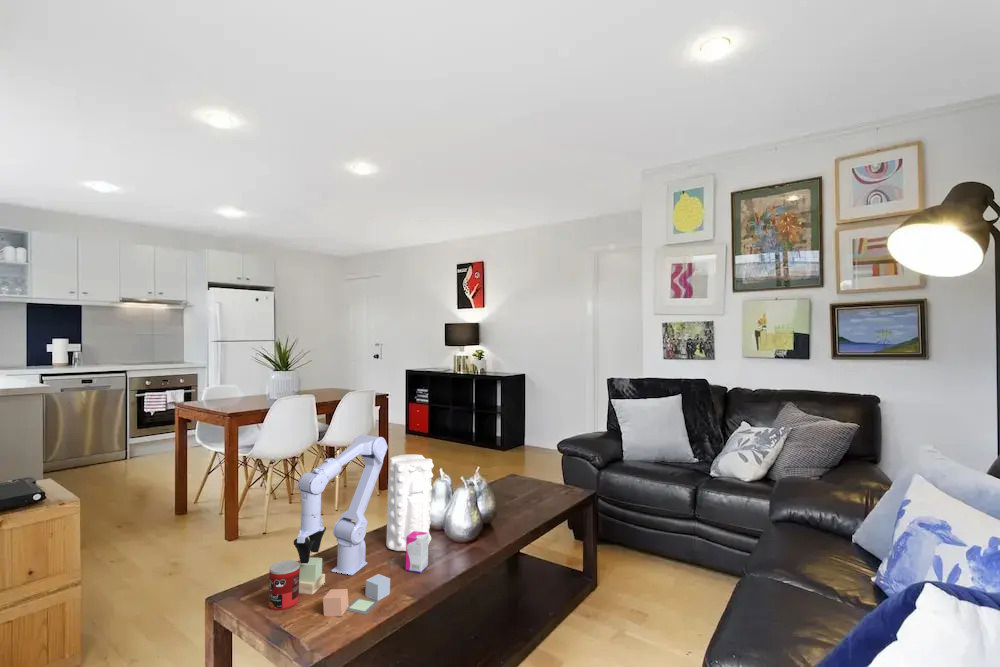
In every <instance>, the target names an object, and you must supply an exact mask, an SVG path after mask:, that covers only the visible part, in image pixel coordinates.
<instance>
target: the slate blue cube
mask: <svg viewBox="0 0 1000 667" xmlns="http://www.w3.org/2000/svg"><path fill="white" fill-rule="evenodd" d="M364 594H365V597H366V598H370V600H373V601H378V602H380V601H381V600H382V599H384V598H387V596H389V595H390V594H391V578H390V577H388V576H385V575H382V574H380V573H377V574H375V575H373V576H371V577H370V578H367V579H365V593H364Z"/></svg>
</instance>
